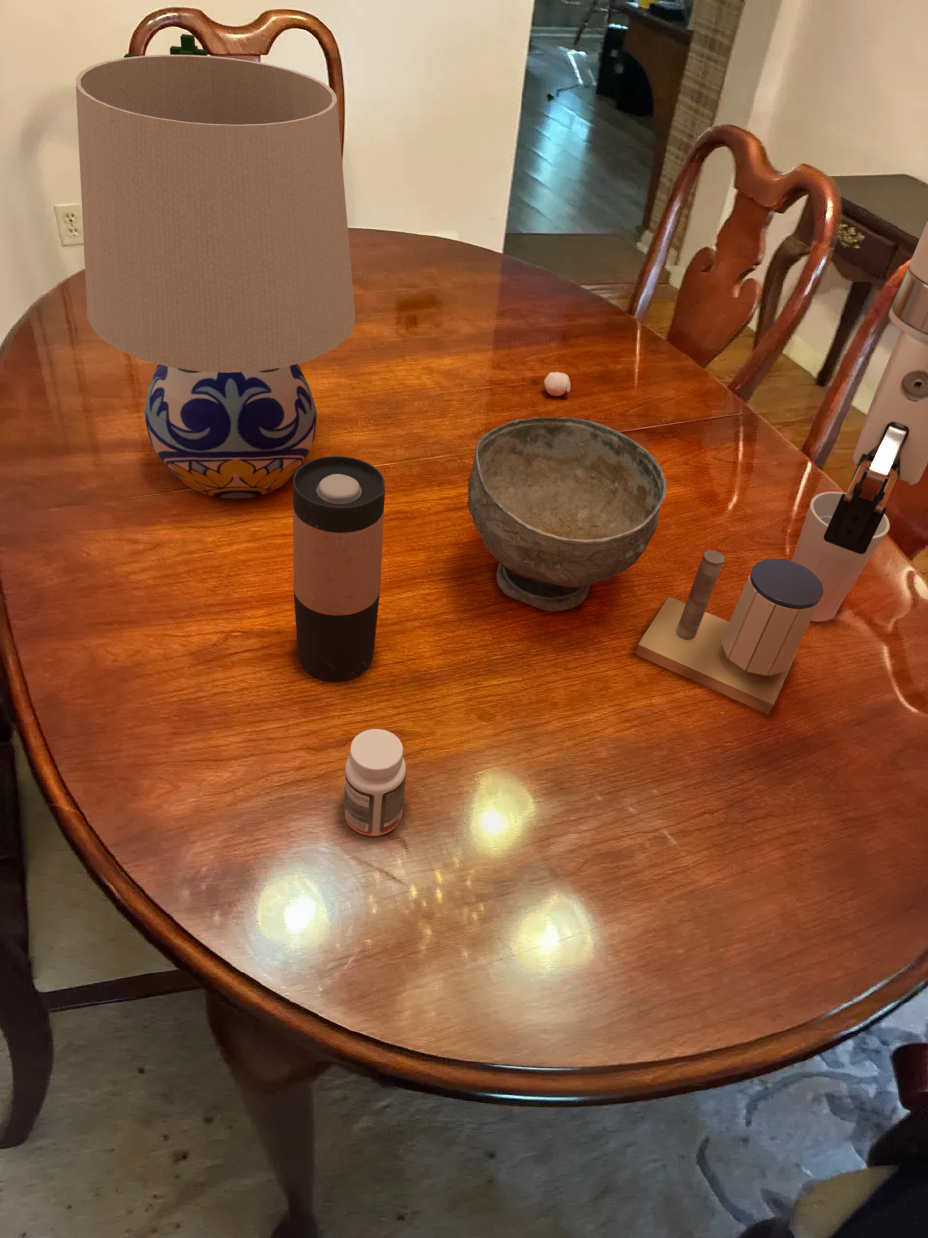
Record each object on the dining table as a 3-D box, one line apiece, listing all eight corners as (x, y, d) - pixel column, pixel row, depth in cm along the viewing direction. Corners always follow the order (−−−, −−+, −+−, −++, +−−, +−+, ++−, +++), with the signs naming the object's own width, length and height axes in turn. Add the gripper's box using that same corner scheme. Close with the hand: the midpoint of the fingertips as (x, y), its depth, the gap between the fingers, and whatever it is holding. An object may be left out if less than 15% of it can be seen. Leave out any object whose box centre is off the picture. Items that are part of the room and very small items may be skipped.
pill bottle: (398, 787, 78) (404, 722, 72) (405, 835, 74) (412, 770, 69) (341, 791, 77) (343, 725, 71) (346, 840, 73) (348, 774, 68)
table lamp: (106, 540, 97) (26, 123, 70) (121, 406, 116) (63, 39, 89) (364, 530, 103) (381, 142, 76) (338, 405, 122) (344, 59, 95)
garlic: (566, 404, 129) (569, 391, 132) (571, 382, 127) (575, 369, 130) (531, 396, 129) (535, 382, 132) (536, 374, 127) (540, 361, 130)
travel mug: (278, 652, 88) (271, 475, 74) (339, 617, 92) (343, 444, 79) (331, 697, 84) (334, 520, 71) (392, 658, 89) (406, 485, 75)
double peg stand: (792, 661, 95) (834, 575, 87) (768, 715, 88) (811, 628, 81) (665, 606, 99) (694, 519, 91) (634, 654, 93) (663, 566, 85)
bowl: (523, 671, 89) (549, 550, 79) (423, 556, 101) (434, 437, 90) (674, 612, 98) (715, 496, 88) (566, 512, 109) (592, 399, 99)
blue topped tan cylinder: (797, 644, 92) (831, 575, 86) (779, 685, 87) (813, 615, 81) (734, 618, 94) (762, 548, 88) (713, 656, 89) (742, 586, 83)
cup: (774, 618, 99) (815, 529, 91) (768, 572, 105) (806, 485, 97) (849, 633, 99) (896, 544, 91) (838, 586, 105) (882, 499, 97)
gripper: (998, 370, 55) (883, 591, 66) (1024, 285, 67) (923, 485, 78) (872, 333, 57) (782, 551, 69) (918, 257, 69) (835, 454, 80)
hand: (857, 516), depth 73 cm, fingers open, 9 cm apart
